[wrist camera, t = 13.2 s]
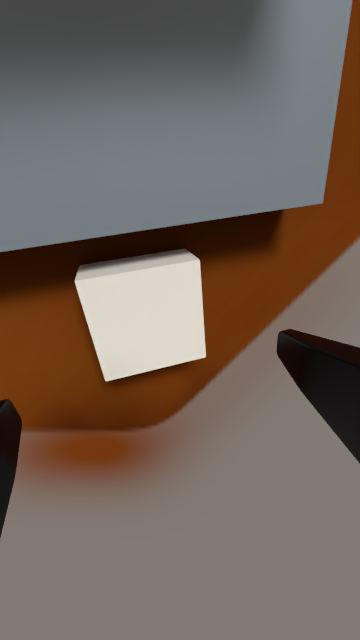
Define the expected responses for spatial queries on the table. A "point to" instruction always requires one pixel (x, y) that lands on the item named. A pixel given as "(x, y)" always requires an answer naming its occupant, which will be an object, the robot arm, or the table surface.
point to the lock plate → (162, 112)
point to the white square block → (143, 311)
